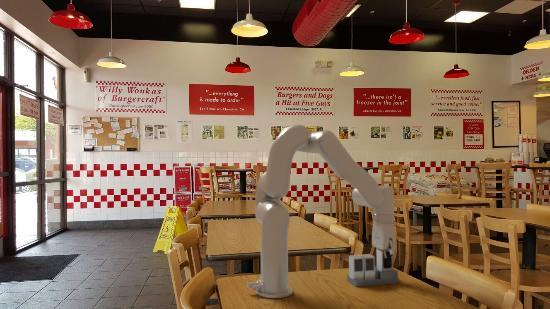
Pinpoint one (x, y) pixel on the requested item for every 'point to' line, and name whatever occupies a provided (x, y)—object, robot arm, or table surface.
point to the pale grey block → (381, 260)
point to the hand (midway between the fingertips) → (384, 265)
